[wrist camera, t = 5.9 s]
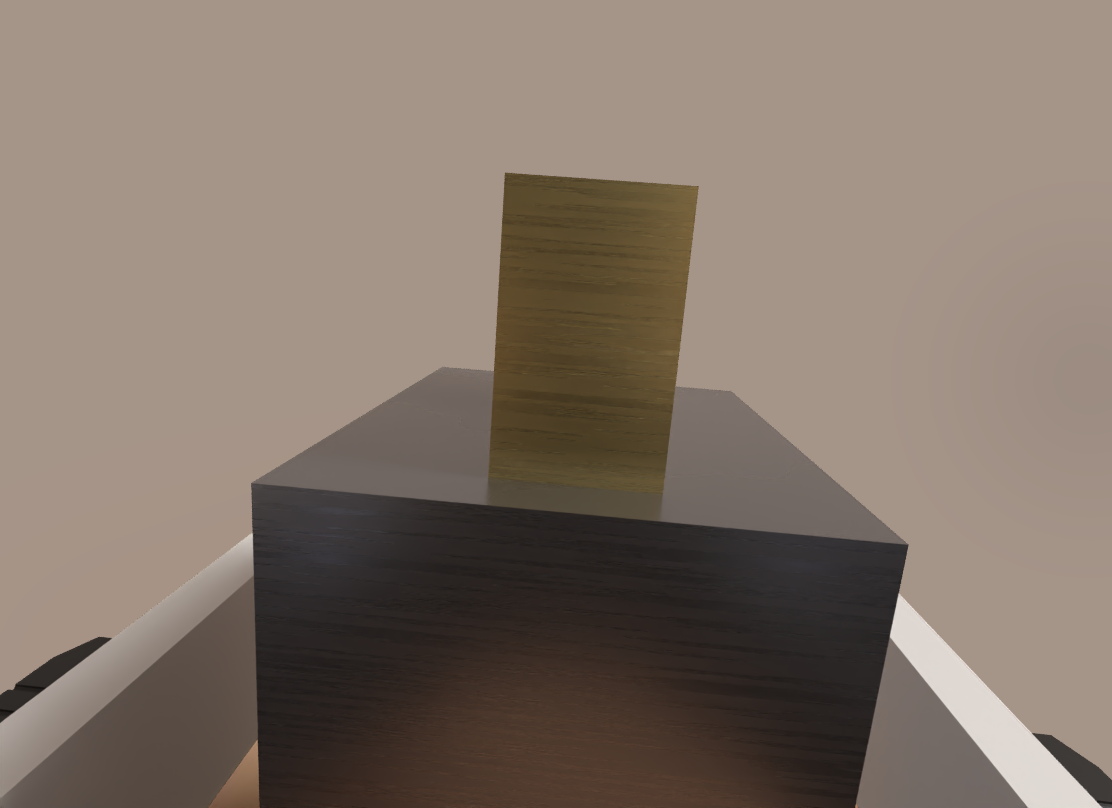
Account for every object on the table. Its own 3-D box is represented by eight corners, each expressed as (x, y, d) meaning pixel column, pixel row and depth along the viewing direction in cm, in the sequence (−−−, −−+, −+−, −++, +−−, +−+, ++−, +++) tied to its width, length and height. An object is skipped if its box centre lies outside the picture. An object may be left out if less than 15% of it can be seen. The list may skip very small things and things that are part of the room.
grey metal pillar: (278, 1551, 6) (242, 141, 4) (419, 987, 11) (448, 218, 8) (688, 1620, 6) (981, 193, 3) (647, 1016, 11) (752, 241, 8)
